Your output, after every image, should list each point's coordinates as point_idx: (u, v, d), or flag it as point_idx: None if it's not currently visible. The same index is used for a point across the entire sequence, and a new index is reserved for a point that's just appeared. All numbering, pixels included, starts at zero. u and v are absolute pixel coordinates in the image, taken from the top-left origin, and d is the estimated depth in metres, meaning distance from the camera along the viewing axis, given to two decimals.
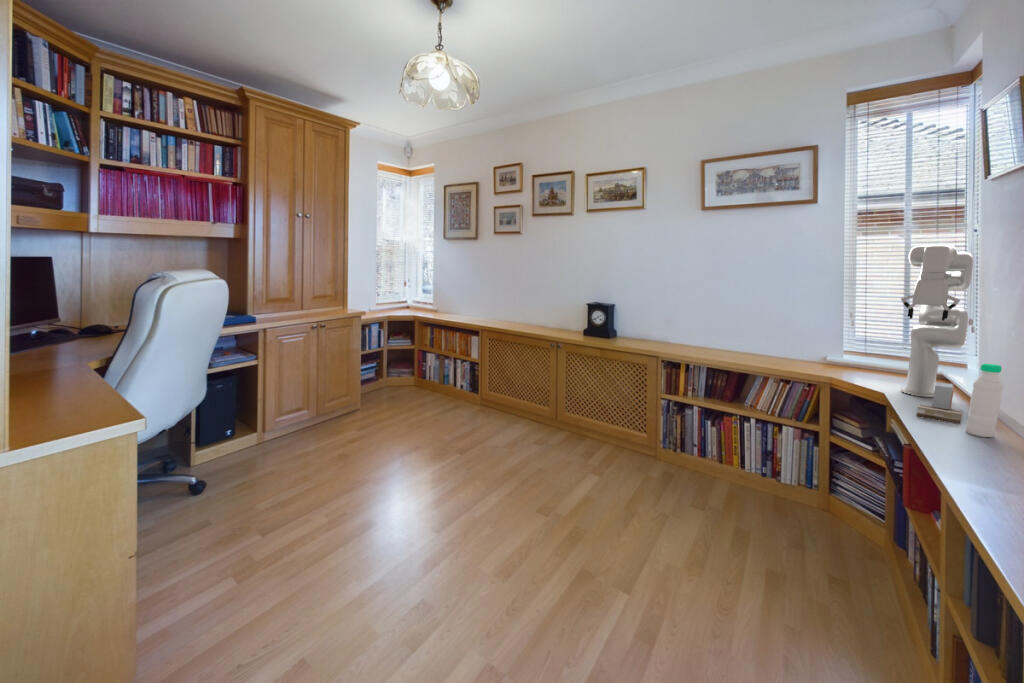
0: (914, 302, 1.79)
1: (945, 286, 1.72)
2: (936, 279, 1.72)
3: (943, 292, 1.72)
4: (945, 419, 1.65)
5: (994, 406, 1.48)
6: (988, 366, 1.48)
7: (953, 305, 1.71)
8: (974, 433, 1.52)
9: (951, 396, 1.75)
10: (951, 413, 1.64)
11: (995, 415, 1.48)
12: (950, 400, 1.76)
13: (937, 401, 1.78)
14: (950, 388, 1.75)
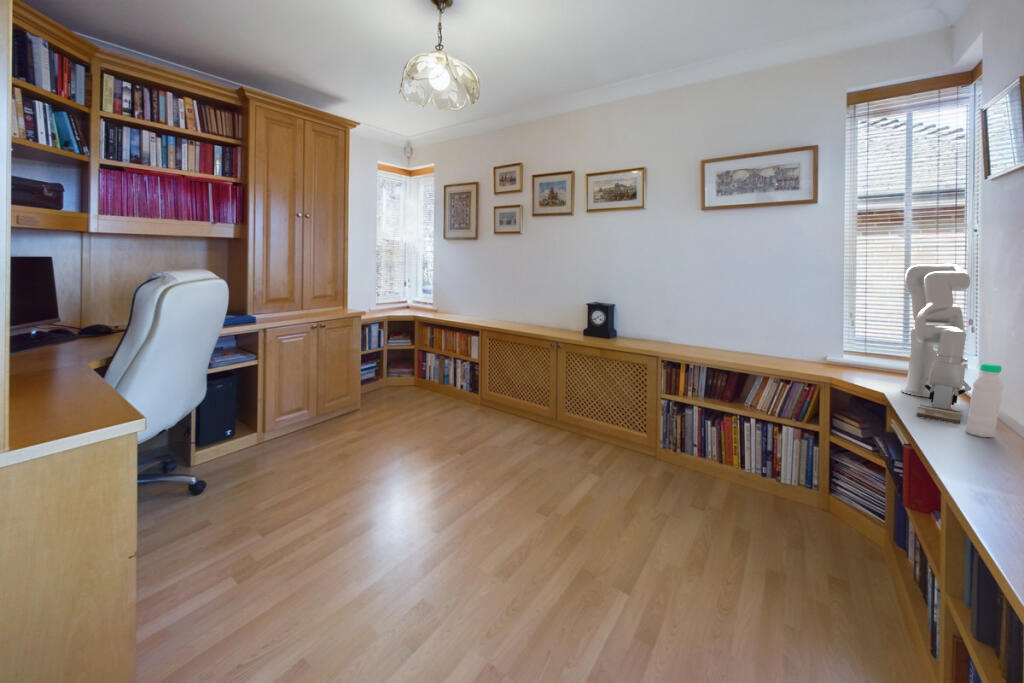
0: (930, 383, 1.80)
1: (961, 371, 1.73)
2: (952, 363, 1.74)
3: (959, 376, 1.74)
4: (945, 419, 1.65)
5: (994, 406, 1.48)
6: (988, 366, 1.48)
7: (962, 391, 1.75)
8: (974, 433, 1.52)
9: (951, 396, 1.75)
10: (951, 413, 1.64)
11: (995, 415, 1.48)
12: (950, 400, 1.76)
13: (937, 401, 1.78)
14: (950, 388, 1.75)
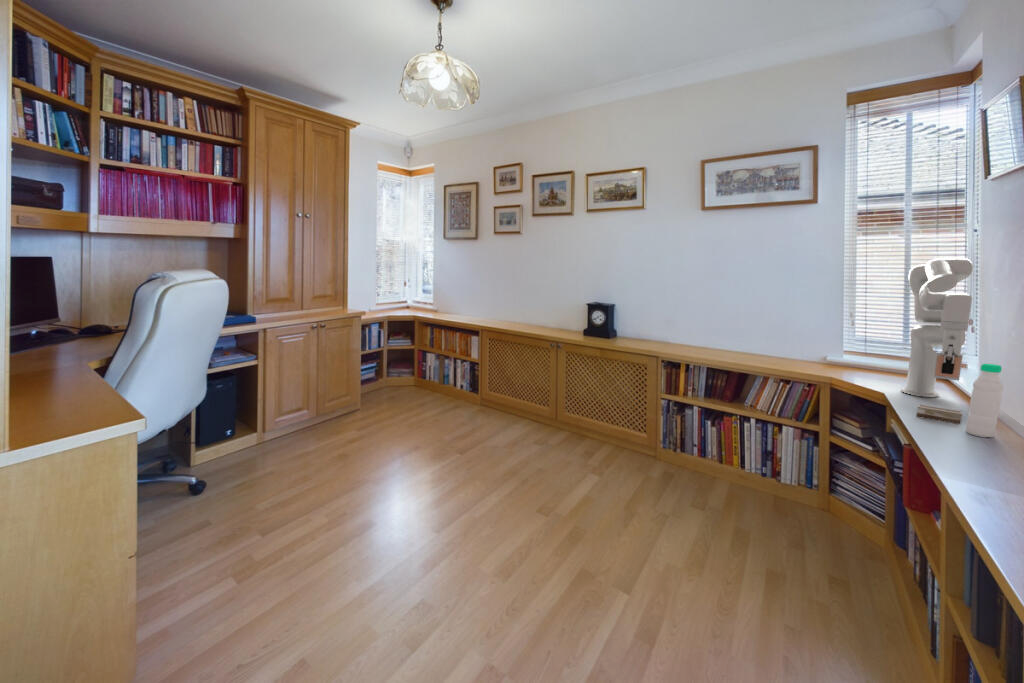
0: None
1: (944, 336, 1.67)
2: (940, 328, 1.70)
3: (943, 342, 1.68)
4: (945, 419, 1.65)
5: (994, 406, 1.48)
6: (988, 366, 1.48)
7: (945, 358, 1.67)
8: (974, 433, 1.52)
9: (936, 361, 1.71)
10: (951, 413, 1.64)
11: (995, 415, 1.48)
12: (935, 366, 1.71)
13: None
14: (937, 353, 1.71)
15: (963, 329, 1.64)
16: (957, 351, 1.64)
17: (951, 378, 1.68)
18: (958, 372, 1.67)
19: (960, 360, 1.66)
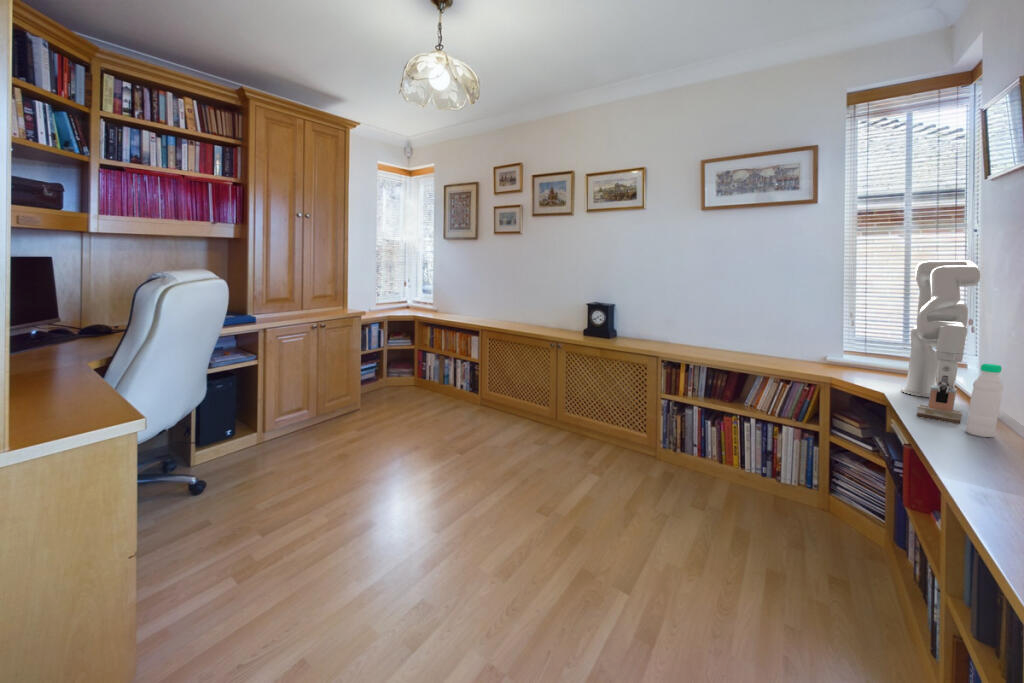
0: None
1: (939, 366, 1.67)
2: (935, 358, 1.69)
3: (937, 372, 1.67)
4: (945, 419, 1.65)
5: (994, 406, 1.48)
6: (988, 366, 1.48)
7: (940, 387, 1.65)
8: (974, 433, 1.52)
9: (930, 396, 1.71)
10: (951, 413, 1.64)
11: (995, 415, 1.48)
12: (929, 400, 1.71)
13: None
14: None
15: (958, 360, 1.64)
16: (951, 382, 1.64)
17: None
18: (951, 408, 1.67)
19: (953, 396, 1.66)
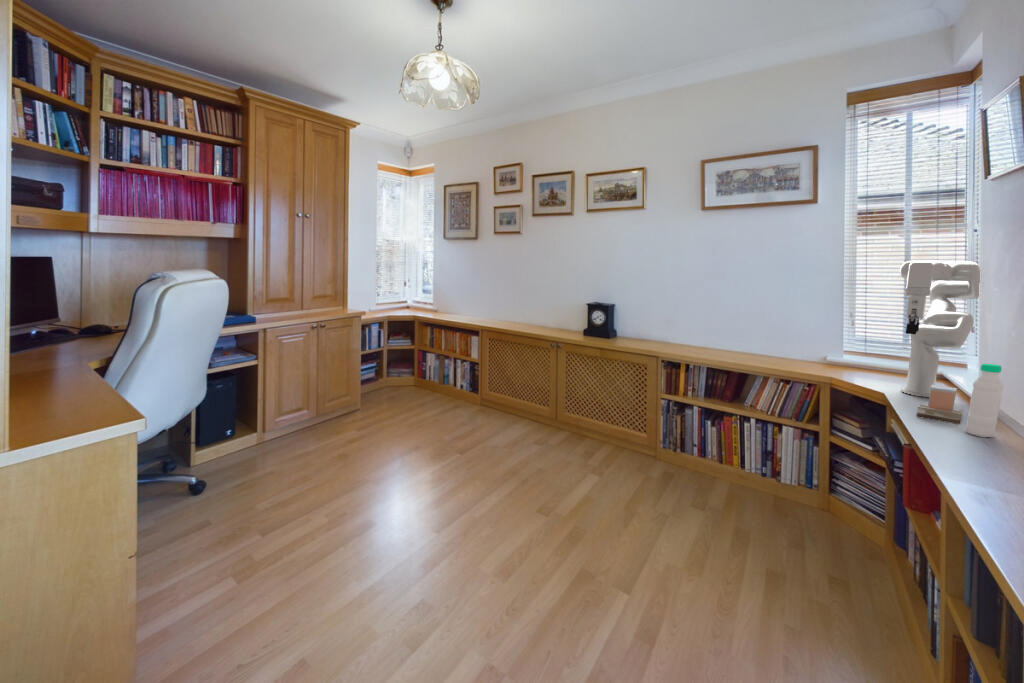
0: None
1: (909, 301, 1.81)
2: (905, 293, 1.84)
3: (907, 306, 1.82)
4: (945, 419, 1.65)
5: (994, 406, 1.48)
6: (988, 366, 1.48)
7: (909, 319, 1.80)
8: (974, 433, 1.52)
9: (930, 396, 1.71)
10: (951, 413, 1.64)
11: (995, 415, 1.48)
12: (929, 400, 1.71)
13: None
14: None
15: (925, 294, 1.78)
16: (919, 314, 1.79)
17: None
18: (951, 408, 1.67)
19: (953, 396, 1.66)
